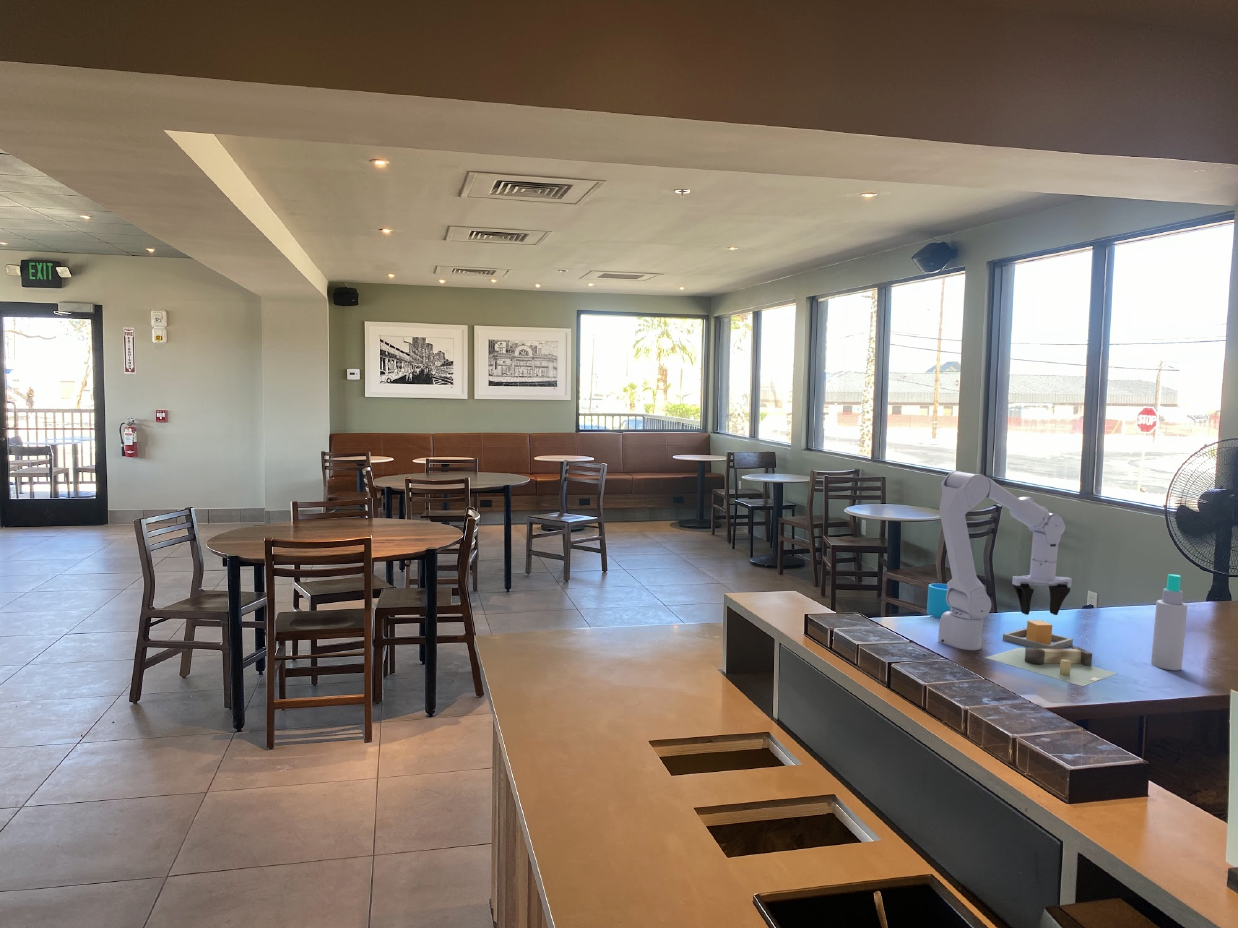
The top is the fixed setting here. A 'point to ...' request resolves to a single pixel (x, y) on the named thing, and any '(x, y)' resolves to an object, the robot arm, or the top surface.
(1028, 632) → the orange block
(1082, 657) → the lever
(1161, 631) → the spray bottle
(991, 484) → the robot arm
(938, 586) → the mug
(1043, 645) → the tray
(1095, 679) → the base plate
